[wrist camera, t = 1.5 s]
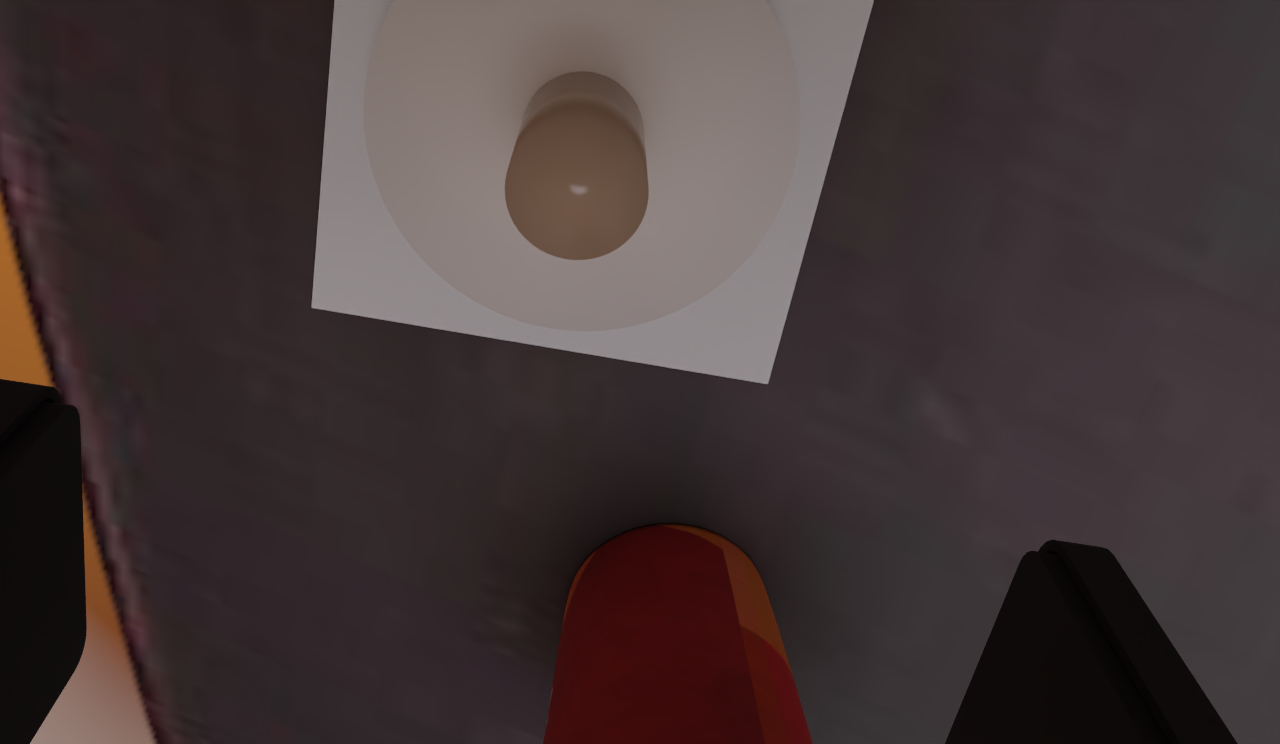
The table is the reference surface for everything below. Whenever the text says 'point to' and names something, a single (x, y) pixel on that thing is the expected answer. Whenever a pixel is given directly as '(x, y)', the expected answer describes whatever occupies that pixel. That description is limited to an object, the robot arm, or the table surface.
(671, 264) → the lid
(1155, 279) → the table surface
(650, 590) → the coffee cup
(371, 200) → the mat
